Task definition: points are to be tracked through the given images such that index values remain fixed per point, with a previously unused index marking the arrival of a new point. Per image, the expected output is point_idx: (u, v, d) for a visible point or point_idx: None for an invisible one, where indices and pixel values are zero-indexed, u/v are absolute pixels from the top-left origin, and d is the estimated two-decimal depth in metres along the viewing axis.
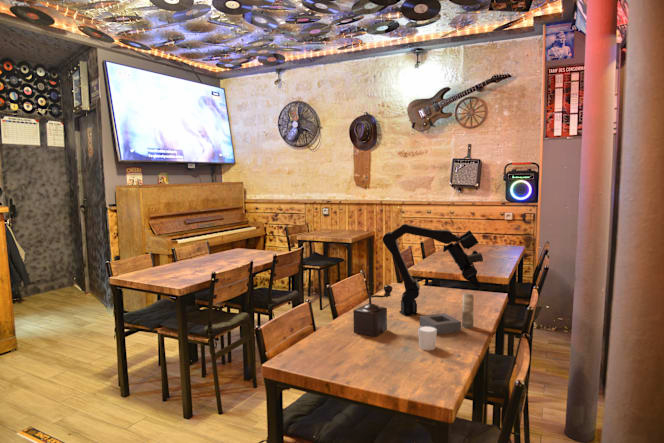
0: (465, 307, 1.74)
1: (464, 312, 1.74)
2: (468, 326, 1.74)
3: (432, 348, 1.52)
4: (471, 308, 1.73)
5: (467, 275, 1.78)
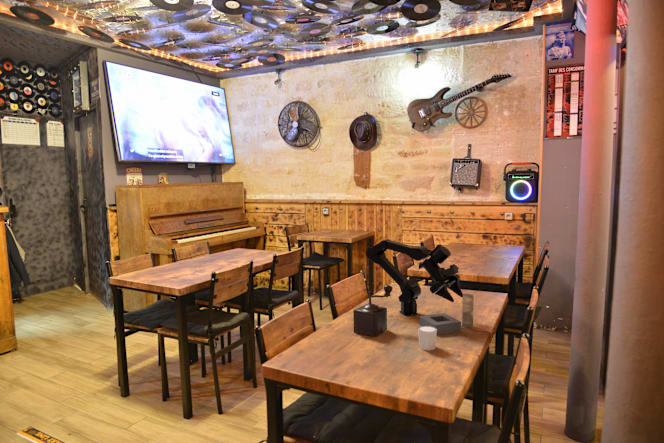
0: (465, 307, 1.74)
1: (464, 312, 1.74)
2: (468, 326, 1.74)
3: (432, 348, 1.52)
4: (471, 308, 1.73)
5: (433, 290, 1.75)
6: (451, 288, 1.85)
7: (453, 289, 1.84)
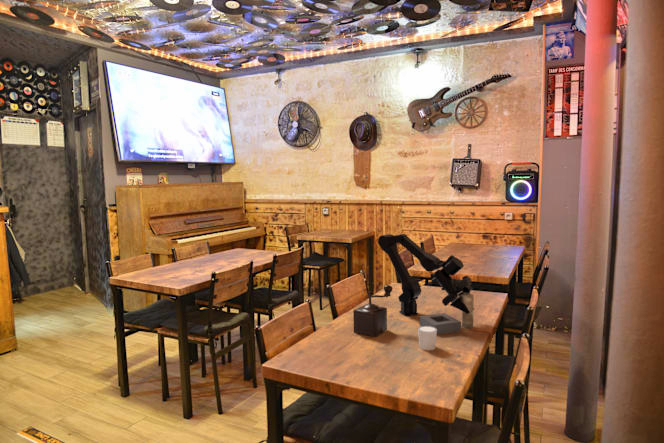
0: None
1: (464, 312, 1.74)
2: (468, 326, 1.74)
3: (432, 348, 1.52)
4: (471, 308, 1.73)
5: (446, 302, 1.71)
6: (461, 301, 1.80)
7: None
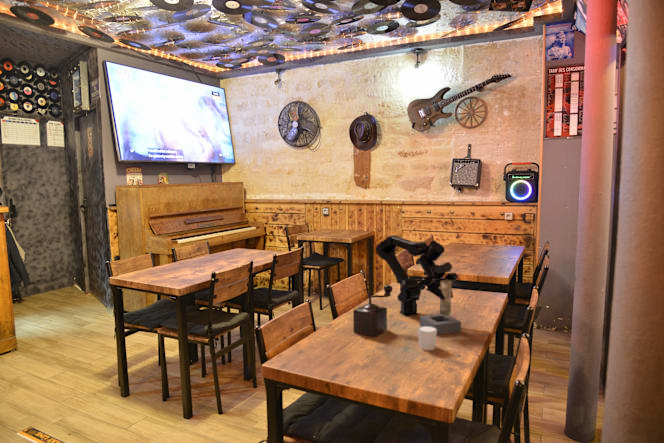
0: None
1: (440, 298, 1.73)
2: (444, 312, 1.72)
3: (432, 348, 1.52)
4: (447, 295, 1.71)
5: (419, 286, 1.72)
6: None
7: None
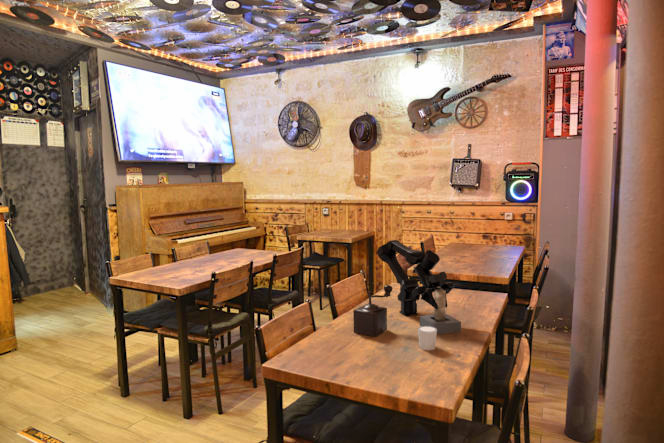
0: None
1: None
2: None
3: (432, 348, 1.52)
4: (441, 304, 1.71)
5: (413, 295, 1.74)
6: None
7: None
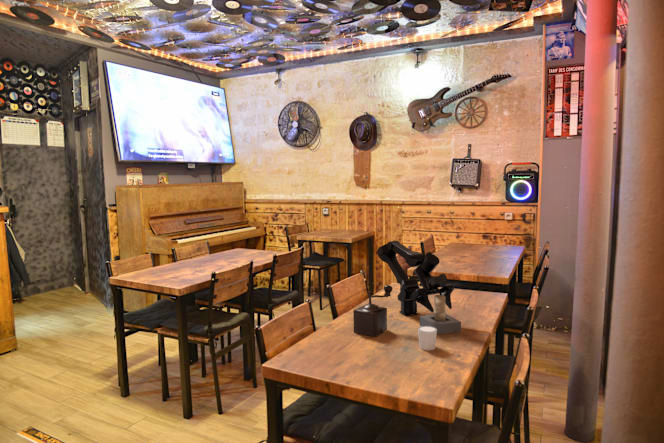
0: (435, 308, 1.73)
1: (434, 313, 1.74)
2: None
3: (432, 348, 1.52)
4: (441, 310, 1.72)
5: (413, 297, 1.74)
6: None
7: None
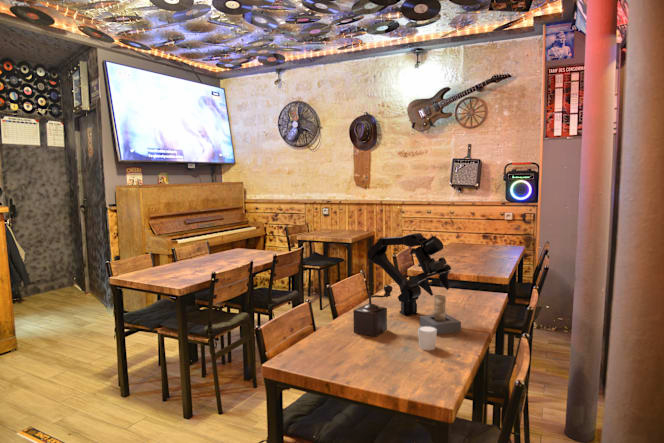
0: (435, 308, 1.73)
1: (434, 313, 1.74)
2: None
3: (432, 348, 1.52)
4: (441, 310, 1.72)
5: (414, 282, 1.80)
6: (440, 278, 1.87)
7: (441, 280, 1.86)
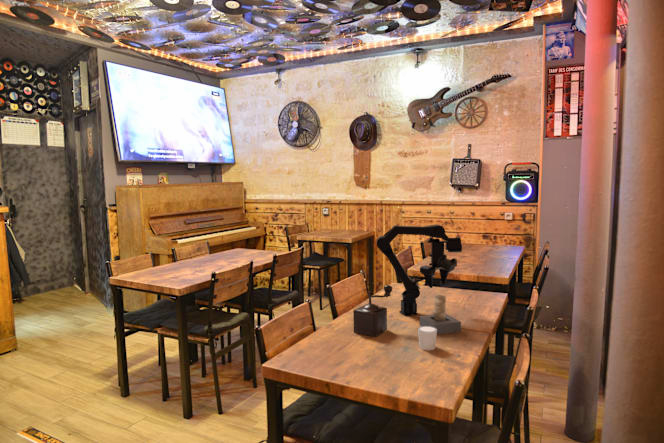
0: (435, 308, 1.73)
1: (434, 313, 1.74)
2: None
3: (432, 348, 1.52)
4: (441, 310, 1.72)
5: (422, 271, 1.86)
6: (440, 271, 1.96)
7: (441, 273, 1.96)
